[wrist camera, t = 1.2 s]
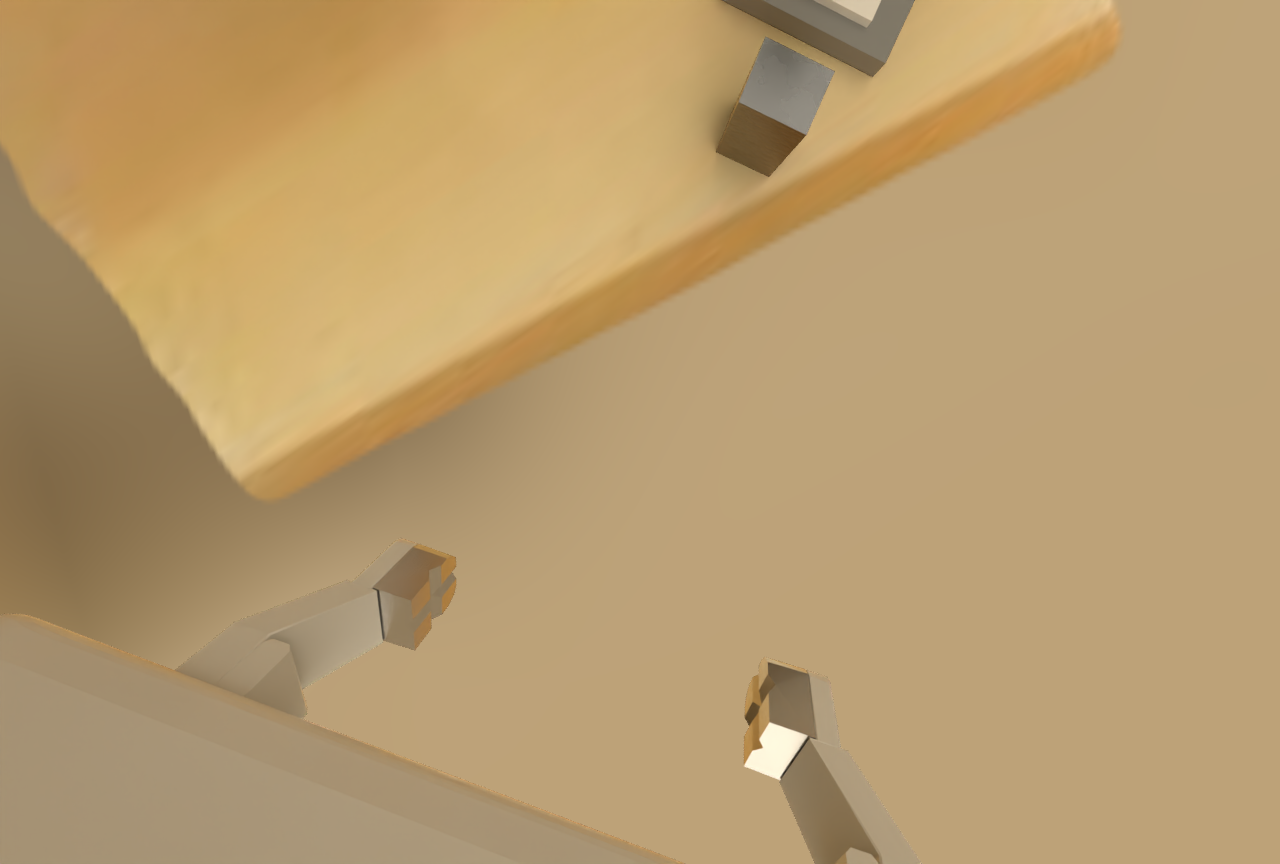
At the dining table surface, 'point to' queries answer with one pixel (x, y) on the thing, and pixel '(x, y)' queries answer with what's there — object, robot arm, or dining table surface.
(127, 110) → the dining table surface
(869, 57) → the press
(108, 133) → the dining table surface
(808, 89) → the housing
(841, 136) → the dining table surface
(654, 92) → the dining table surface
